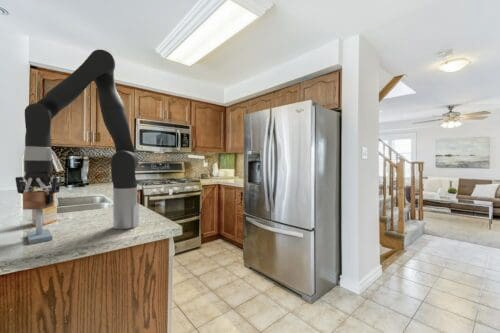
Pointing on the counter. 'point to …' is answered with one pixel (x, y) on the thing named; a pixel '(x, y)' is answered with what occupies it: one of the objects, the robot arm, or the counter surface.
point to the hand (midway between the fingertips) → (38, 204)
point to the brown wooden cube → (35, 200)
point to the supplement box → (47, 214)
